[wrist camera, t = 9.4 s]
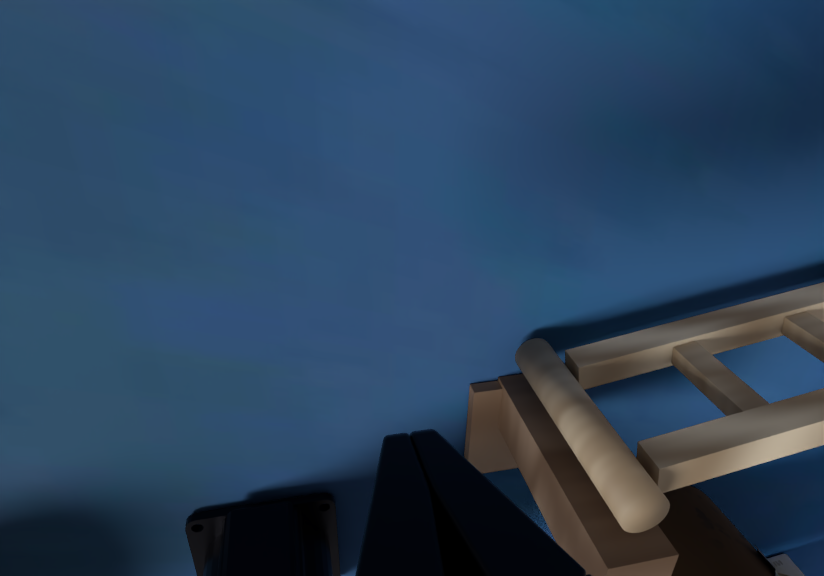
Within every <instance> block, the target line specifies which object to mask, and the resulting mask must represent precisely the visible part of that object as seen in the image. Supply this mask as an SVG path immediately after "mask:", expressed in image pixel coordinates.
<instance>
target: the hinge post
mask: <svg viewBox="0 0 824 576" xmlns="http://www.w3.org/2000/svg"><path fill="white" fill-rule="evenodd" d="M464 457H465V458H466V459H467V460H468V461H469V462H470V463H471V464H472V465H473V466H474V467H475V468H476V469H477V470H479V471H480V472H481V473H489V472H495V471H501V470H507V469H513V468H519V470H520V472H521V474H522V476H523V477H524V479H525V481H526V483H527V485H528V487H529V489H530V491H531V493H532V495H533V497H534V499H535V501H536V503H537V505H538V507H539V509H540V511H541V513H542V515H543V517H544V519H545V521H546V523H547V525H548V527H549V529H550V531H551V533H552V535H553V537H554V539H555V541H556V543H557V544H558V545H559V546H560V547H561V548H562V549H563V550H565V551H566V552H567V553H568V554H569V555H570V556H571V557H572V558H573V559H574V560H575V561H576V562H577V563H579V564H580V565H581V566H582V567H583V568H584V569H585V570H586V575H587V574H591V575H592V576H671V575H672V572H673V570H674V567H675V564H676V561H677V559H678V556H679V554H678V553H677V551H676V550H675V548H674V547H673V546H672V544H671V543H670V541H669V540H668V538H667V537H666V536H665V534H664V533H663V531H662V530H661V529H660V527H659V526H658V524H657V525H656V526H654V527H653V528H651V529H649V530H646V531H644V532H640V533H629V532H626V531H624V530H623V529H622V527H621V526H620V524H619V523H618V521H617V519H616V518H615V516H614V515H613V513H612V512H611V510H610V509H609V507H608V505H607V504H606V502H605V501H604V499H603V498H602V496H601V495H600V493H599V491H598V490H597V488H596V487H595V485H594V484H593V482H592V480H591V479H590V477H589V476H588V474H587V473H586V471H585V470H584V468H583V466H582V465H581V463H580V462H579V460H578V459H577V457H576V455H575V454H574V452H573V451H572V449H571V448H570V446H569V445H568V443H567V441H566V440H565V438H564V437H563V435H562V434H561V432H560V430H559V429H558V427H557V426H556V424H555V423H554V421H553V420H552V418H551V416H550V415H549V413H548V412H547V410H546V409H545V407H544V405H543V404H542V402H541V401H540V399H539V398H538V396H537V395H536V393H535V391H534V390H533V388H532V387H531V385H530V384H529V382H528V380H527V379H526V377H525V376H524V374H519V375H511V376H503V377H498V381H492V382H484V383H476V384H470V390H469V402H468V414H467V427H466V439H465V451H464Z"/></svg>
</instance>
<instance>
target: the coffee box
mask: <svg viewBox="0 0 824 576" xmlns="http://www.w3.org/2000/svg"><path fill="white" fill-rule="evenodd" d="M767 560H768V561H769V562H770V563H771V564H772V565H773V566H774V567H775V569H776V571H777V574H778V575H779V576H805V575H804V574H803V573H802V572H801V571H800V569H799V568H798V567H797V566H796V565H795V564H794V563H793V561H792V560H791V559H790V558H789V556H788V555H787V554H781V555H777V556H774V557H771V558H767Z"/></svg>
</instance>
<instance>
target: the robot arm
mask: <svg viewBox="0 0 824 576" xmlns="http://www.w3.org/2000/svg"><path fill="white" fill-rule="evenodd" d="M324 503H325V504H324ZM196 524H200V525H196ZM185 531H186V534H187V538H188V542H189V546H190V550H191V553H192V557H193V561H194V565H195V569H196V572H197V576H340V564H339V550H338V536H337V522H336V507H335V499H334V496H333V495H332V494H330V493H319V494H313V495H306V496H300V497H294V498H287V499H281V500H275V501H269V502H262V503H256V504H250V505H243V506H237V507H231V508H224V509H218V510H212V511H206V512H199V513H195V514H192V515H190V516H189V517H188V518H187V521H186V528H185ZM356 576H592V575H591V574H587V575H586V570H585V569H584V568H583V567H582V566H581V565H580V564H579V563H577V562H576V561H575V560H574V559H573V558H572V557H571V556H570V555H569V554H568V553H567V552H566V551H565V550H563V549H562V548H561V547H560V546H559V545H558V544H557V543H556V542H555V541H554V540H553V539H552V538H551V537H550V536H548V535H547V534H546V533H545V532H544V531H543V530H542V529H541V528H540V527H539V526H538V525H537V524H536V523H534V522H533V521H532V520H531V519H530V518H529V517H528V516H527V515H526V514H525V513H524V512H523V511H522V510H520V509H519V508H518V507H517V506H516V505H515V504H514V503H513V502H512V501H511V500H510V499H509V498H508V497H507V496H505V495H504V494H503V493H502V492H501V491H500V490H499V489H498V488H497V487H496V486H495V485H494V484H493V483H491V482H490V481H489V480H488V479H487V478H486V477H485V476H484V475H483V474H482V473H481V472H480V471H479V470H477V469H476V468H475V467H474V466H473V465H472V464H471V463H470V462H469V461H468V460H467V459H466V458H465V457H464V456H462V455H461V454H460V453H459V452H458V451H457V450H456V449H455V448H454V447H453V446H452V445H451V444H450V443H448V442H447V441H446V440H445V439H444V438H443V437H442V436H441V435H440V434H439V433H438V432H437V431H435V430H433V429H428V430H421V431H414V432H412V433H411V434H410V435H408V434H407V433H400V434H393V435H387V436H385V437H384V439H383V444H382V448H381V453H380V458H379V463H378V468H377V473H376V478H375V483H374V488H373V493H372V497H371V502H370V507H369V512H368V517H367V522H366V527H365V532H364V537H363V541H362V546H361V551H360V556H359V561H358V566H357V571H356Z"/></svg>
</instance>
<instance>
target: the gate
mask: <svg viewBox="0 0 824 576" xmlns="http://www.w3.org/2000/svg"><path fill="white" fill-rule="evenodd" d="M783 335H784V336H786V337H787V338H789V339H790V340H792V341H793V342H795V343H796V344H797V345H799V346H800V347H802V348H803V349H805V350H806V351H808V352H809V353H811V354H812V355H813V356H815V357H816V358H818V359H819V360H821V361H822V362H824V282H823V283H819V284H815V285H811V286H808V287H804V288H800V289H796V290H792V291H789V292H785V293H781V294H777V295H773V296H770V297H766V298H762V299H758V300H754V301H751V302H747V303H743V304H739V305H735V306H732V307H728V308H724V309H720V310H716V311H713V312H709V313H705V314H701V315H697V316H694V317H690V318H686V319H682V320H678V321H675V322H671V323H667V324H663V325H659V326H656V327H652V328H648V329H644V330H640V331H637V332H633V333H629V334H625V335H621V336H618V337H614V338H610V339H606V340H602V341H599V342H595V343H591V344H587V345H583V346H580V347H576V348H572V349H568V350H565V364H564V363H563V362H562V360H561V359H560V358H559V356H558V355H557V354H556V352H555V351H554V350H553V349H552V347H551V346H550V345H549V343H548V342H547V341H546V340H544V339H540V338H534V339H530V340H528V341H526V342H524V343H523V344H522V345H521V346H520V347H519V348H518V350H517V352H516V355H515V361H516V363H517V365H518V366H519V368H520V370H521V371H522V373H523V374H524V376H525V377H526V379H527V380H528V382H529V384H530V385H531V387H532V388H533V390H534V391H535V393H536V395H537V396H538V398H539V399H540V401H541V402H542V404H543V405H544V407H545V409H546V410H547V412H548V413H549V415H550V416H551V418H552V420H553V421H554V423H555V424H556V426H557V427H558V429H559V430H560V432H561V434H562V435H563V437H564V438H565V440H566V441H567V443H568V445H569V446H570V448H571V449H572V451H573V452H574V454H575V455H576V457H577V459H578V460H579V462H580V463H581V465H582V466H583V468H584V470H585V471H586V473H587V474H588V476H589V477H590V479H591V480H592V482H593V484H594V485H595V487H596V488H597V490H598V491H599V493H600V495H601V496H602V498H603V499H604V501H605V502H606V504H607V505H608V507H609V509H610V510H611V512H612V513H613V515H614V516H615V518H616V519H617V521H618V523H619V524H620V526H621V527H622V529H623V530H624V531H626V532H629V533H640V532H644V531H646V530H649V529H651V528H653V527H654V526H656V525H657V524H659V523H660V522H661V521H662V520H663V519H664V518H665V517H666V515H667V513H668V511H669V508H670V503H669V500H668V499H667V498H666V496H665V495H664V494H663V493H665V492H668V491H672V490H675V489H678V488H682V487H685V486H688V485H692V484H695V483H698V482H702V481H705V480H708V479H712V478H715V477H718V476H722V475H725V474H728V473H732V472H735V471H738V470H742V469H745V468H748V467H752V466H755V465H758V464H762V463H765V462H768V461H772V460H775V459H778V458H782V457H785V456H788V455H792V454H795V453H798V452H802V451H805V450H808V449H812V448H815V447H818V446H822V445H824V388H823V389H820V390H816V391H813V392H809V393H806V394H802V395H799V396H795V397H792V398H788V399H785V400H781V401H778V402H774V403H771V404H769V403H768V402H767V401H766V400H765V399H763V398H762V397H761V396H760V395H759V394H757V393H756V392H755V391H754V390H753V389H752V388H750V387H749V386H748V385H747V384H746V383H745V382H743V381H742V380H741V379H740V378H739V377H737V376H736V375H735V374H734V373H733V372H732V371H730V370H729V369H728V368H727V367H726V366H725V365H723V364H722V363H721V362H720V361H719V360H717V359H716V358H715V357H714V356H713V354H717V353H720V352H724V351H728V350H731V349H735V348H739V347H742V346H746V345H750V344H753V343H757V342H761V341H764V340H768V339H772V338H775V337H779V336H783ZM673 365H674V366H675V367H676V368H677V369H678V370H679V371H680V372H681V373H682V374H683V375H684V376H685V377H686V378H688V379H689V380H690V381H691V382H692V383H693V384H694V385H695V386H696V387H697V388H698V389H699V390H700V391H701V392H702V393H703V394H704V395H705V396H706V397H707V398H708V399H710V400H711V401H712V402H713V403H714V404H715V405H716V406H717V407H718V408H719V409H720V410H721V411H722V412H723V413H724V414H725V415H726V417H722V418H719V419H715V420H712V421H708V422H705V423H701V424H698V425H694V426H691V427H687V428H684V429H680V430H677V431H673V432H670V433H666V434H663V435H659V436H656V437H653V438H649V439H646V440H642V441H639V442H638V446H637V458H636V457H635V456H634V455H633V453H632V452H631V451H630V449H629V448H628V447H627V445H626V444H625V443H624V441H623V440H622V439H621V438H620V436H619V435H618V434H617V432H616V431H615V430H614V428H613V427H612V426H611V424H610V423H609V422H608V421H607V419H606V418H605V417H604V415H603V414H602V413H601V411H600V410H599V409H598V407H597V406H596V405H595V403H594V402H593V401H592V400H591V398H590V397H589V396H588V394H587V393H586V392H585V389H588V388H592V387H596V386H599V385H603V384H607V383H610V382H614V381H618V380H621V379H625V378H629V377H632V376H636V375H640V374H643V373H647V372H651V371H654V370H658V369H662V368H665V367H669V366H673Z"/></svg>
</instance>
